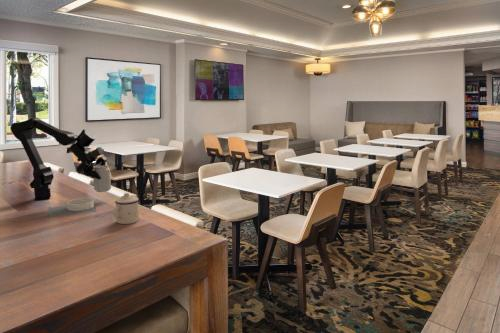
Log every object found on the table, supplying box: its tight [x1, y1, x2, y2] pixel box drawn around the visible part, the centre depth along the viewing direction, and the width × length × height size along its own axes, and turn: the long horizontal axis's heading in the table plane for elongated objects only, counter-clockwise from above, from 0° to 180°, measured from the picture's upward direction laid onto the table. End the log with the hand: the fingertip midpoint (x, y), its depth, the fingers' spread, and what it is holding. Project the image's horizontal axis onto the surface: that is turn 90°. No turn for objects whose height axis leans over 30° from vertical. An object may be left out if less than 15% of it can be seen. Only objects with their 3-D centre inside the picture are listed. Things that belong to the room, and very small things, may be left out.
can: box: [93, 164, 112, 193], centre depth 181 cm, size 8×8×12 cm
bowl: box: [66, 197, 95, 211], centre depth 171 cm, size 11×11×3 cm
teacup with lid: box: [112, 192, 140, 225], centre depth 152 cm, size 12×9×12 cm
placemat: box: [47, 203, 97, 218], centre depth 168 cm, size 19×16×1 cm
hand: (104, 177), depth 181 cm, fingers closed on can, 7 cm apart
